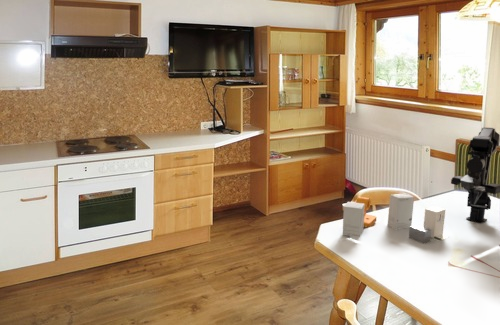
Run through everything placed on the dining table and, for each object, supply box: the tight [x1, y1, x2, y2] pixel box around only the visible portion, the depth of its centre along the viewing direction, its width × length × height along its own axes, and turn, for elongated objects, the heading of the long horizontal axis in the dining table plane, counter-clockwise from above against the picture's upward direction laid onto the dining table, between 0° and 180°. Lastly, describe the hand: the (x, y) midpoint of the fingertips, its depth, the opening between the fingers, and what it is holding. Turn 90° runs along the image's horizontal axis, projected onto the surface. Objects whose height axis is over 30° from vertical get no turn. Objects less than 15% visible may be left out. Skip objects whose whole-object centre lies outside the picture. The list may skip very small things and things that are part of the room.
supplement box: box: [342, 201, 365, 237], centre depth 183 cm, size 7×7×13 cm
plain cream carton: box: [423, 205, 446, 241], centre depth 177 cm, size 10×8×11 cm
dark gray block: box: [408, 224, 432, 245], centre depth 175 cm, size 4×7×5 cm, turn 34°
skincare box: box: [387, 193, 415, 230], centre depth 188 cm, size 8×6×15 cm
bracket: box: [355, 196, 377, 228], centre depth 194 cm, size 11×7×12 cm, turn 147°
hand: (473, 204), depth 184 cm, fingers closed
